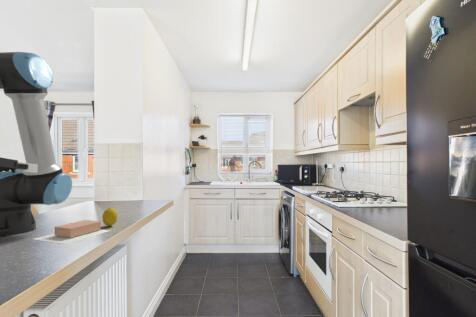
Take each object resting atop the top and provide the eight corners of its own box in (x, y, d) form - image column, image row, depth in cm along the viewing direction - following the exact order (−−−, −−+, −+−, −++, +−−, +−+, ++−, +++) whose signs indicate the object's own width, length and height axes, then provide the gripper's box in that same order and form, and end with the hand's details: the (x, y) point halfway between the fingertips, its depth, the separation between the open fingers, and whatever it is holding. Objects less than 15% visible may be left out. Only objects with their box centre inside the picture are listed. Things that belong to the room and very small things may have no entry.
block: (54, 226, 89) (85, 219, 100) (54, 236, 89) (85, 228, 100) (70, 228, 86) (100, 221, 97) (70, 238, 86) (100, 230, 97)
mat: (31, 239, 86) (31, 239, 86) (80, 227, 102) (80, 227, 102) (65, 245, 80) (65, 244, 80) (111, 231, 97) (111, 230, 97)
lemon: (113, 228, 101) (113, 208, 101) (99, 228, 101) (99, 208, 101) (119, 225, 106) (120, 206, 107) (106, 225, 107) (107, 206, 107)
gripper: (-91, 177, 59) (20, 182, 82) (-57, 170, 56) (50, 178, 78) (-87, 146, 61) (22, 160, 83) (-53, 138, 57) (51, 154, 79)
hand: (35, 168), depth 81 cm, fingers closed
